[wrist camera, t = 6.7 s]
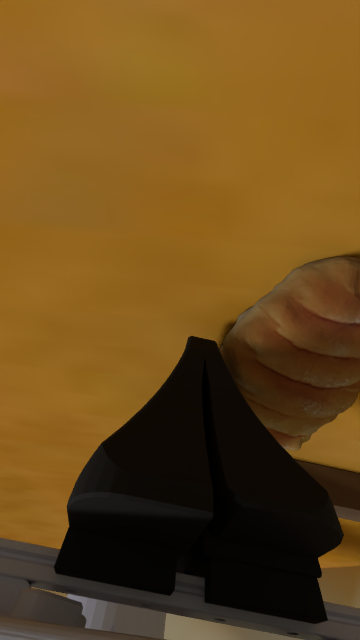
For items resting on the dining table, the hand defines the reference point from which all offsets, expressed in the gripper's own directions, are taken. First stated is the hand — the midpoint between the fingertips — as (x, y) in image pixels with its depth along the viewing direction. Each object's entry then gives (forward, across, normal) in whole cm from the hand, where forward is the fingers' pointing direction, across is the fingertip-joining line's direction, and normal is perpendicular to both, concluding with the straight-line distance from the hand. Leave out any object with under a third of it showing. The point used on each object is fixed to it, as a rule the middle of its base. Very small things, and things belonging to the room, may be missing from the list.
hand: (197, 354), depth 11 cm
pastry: (+2, -4, 0) cm, 5 cm away
